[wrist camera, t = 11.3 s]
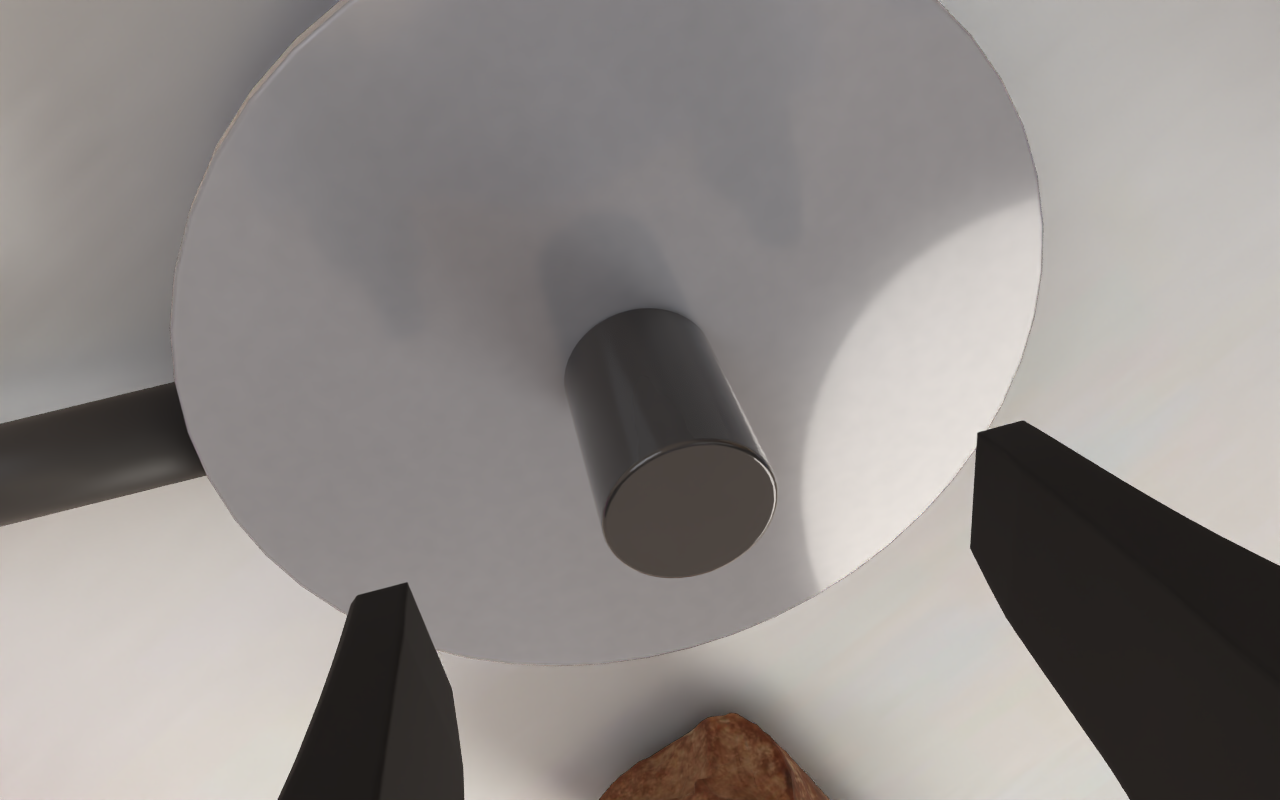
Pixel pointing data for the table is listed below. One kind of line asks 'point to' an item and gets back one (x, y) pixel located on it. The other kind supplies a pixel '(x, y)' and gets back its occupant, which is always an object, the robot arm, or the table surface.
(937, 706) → the table surface
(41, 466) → the pan handle
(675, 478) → the lid
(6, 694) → the table surface
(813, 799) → the bread
